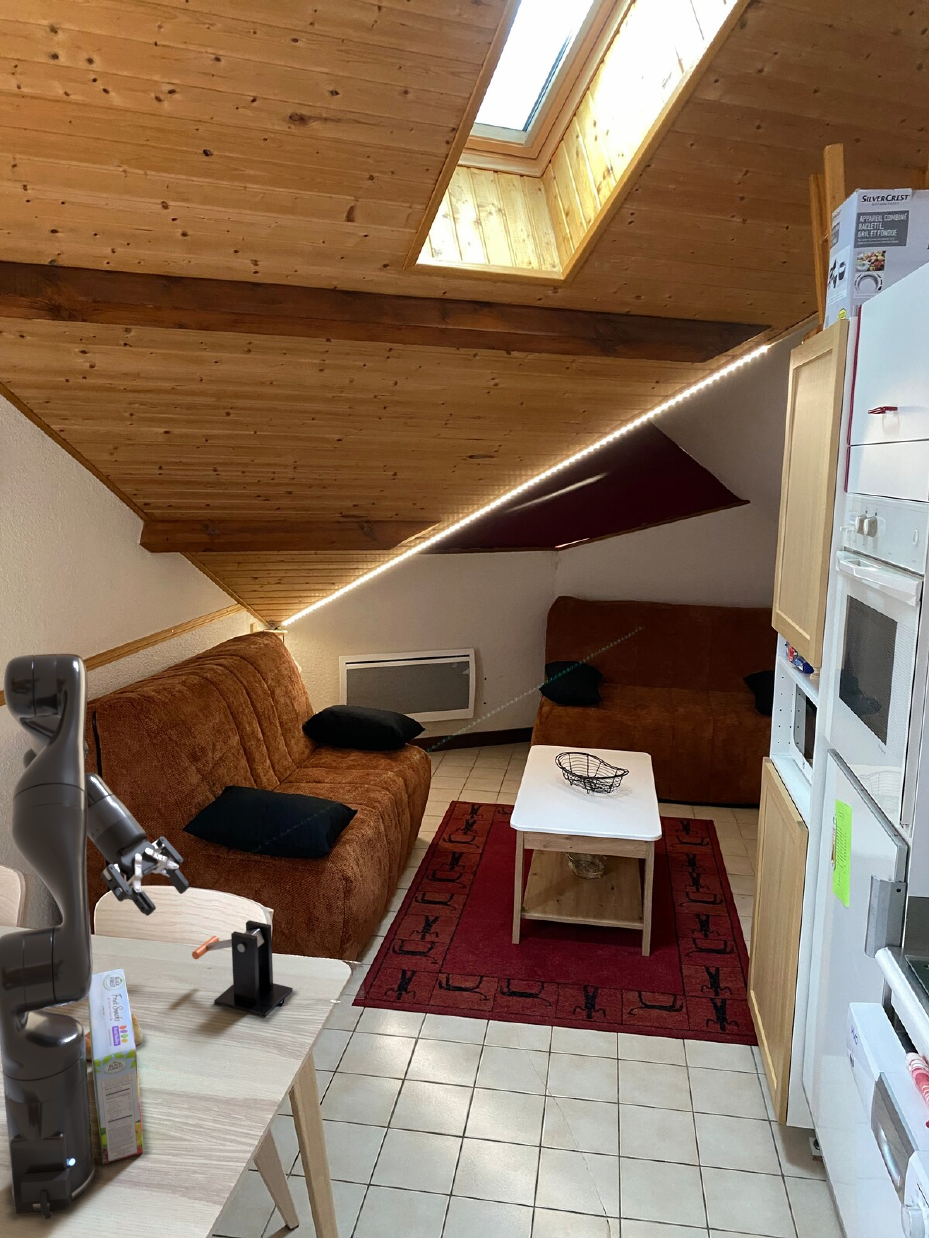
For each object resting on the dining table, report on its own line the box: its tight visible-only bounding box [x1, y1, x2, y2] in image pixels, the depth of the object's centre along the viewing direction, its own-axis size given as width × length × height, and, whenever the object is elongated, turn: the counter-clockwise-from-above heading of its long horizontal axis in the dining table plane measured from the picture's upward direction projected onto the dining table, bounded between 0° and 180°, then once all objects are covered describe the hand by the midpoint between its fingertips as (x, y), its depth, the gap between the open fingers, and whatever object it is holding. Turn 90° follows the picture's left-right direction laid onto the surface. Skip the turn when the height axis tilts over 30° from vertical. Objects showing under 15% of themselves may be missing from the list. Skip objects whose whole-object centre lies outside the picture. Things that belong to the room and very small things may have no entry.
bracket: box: [213, 919, 294, 1018], centre depth 150 cm, size 10×8×13 cm
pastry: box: [85, 1012, 144, 1061], centre depth 138 cm, size 9×7×4 cm
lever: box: [191, 929, 264, 960], centre depth 151 cm, size 12×6×2 cm, turn 68°
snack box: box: [87, 967, 144, 1165], centre depth 124 cm, size 21×6×15 cm, turn 25°
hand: (169, 901), depth 154 cm, fingers open, 8 cm apart
